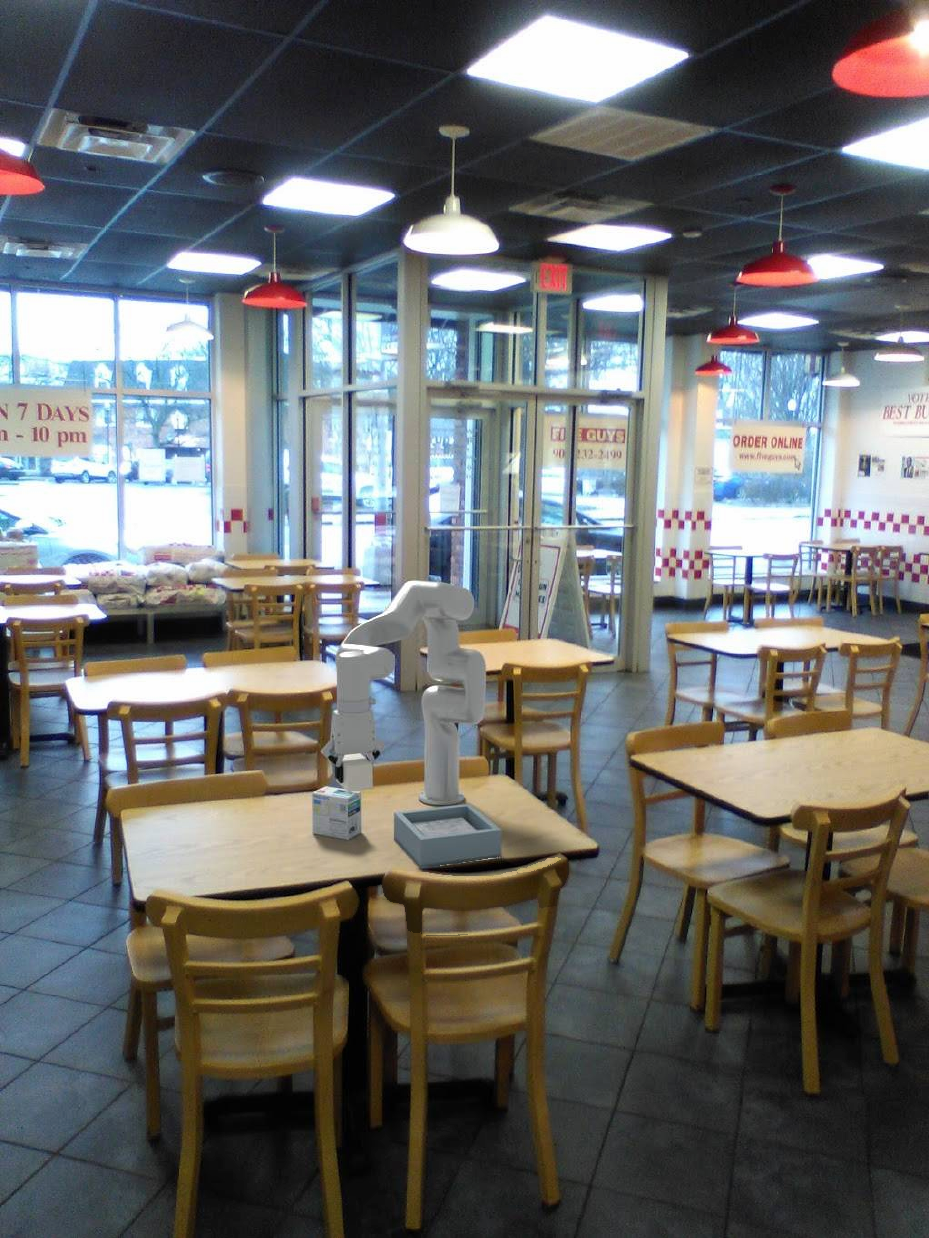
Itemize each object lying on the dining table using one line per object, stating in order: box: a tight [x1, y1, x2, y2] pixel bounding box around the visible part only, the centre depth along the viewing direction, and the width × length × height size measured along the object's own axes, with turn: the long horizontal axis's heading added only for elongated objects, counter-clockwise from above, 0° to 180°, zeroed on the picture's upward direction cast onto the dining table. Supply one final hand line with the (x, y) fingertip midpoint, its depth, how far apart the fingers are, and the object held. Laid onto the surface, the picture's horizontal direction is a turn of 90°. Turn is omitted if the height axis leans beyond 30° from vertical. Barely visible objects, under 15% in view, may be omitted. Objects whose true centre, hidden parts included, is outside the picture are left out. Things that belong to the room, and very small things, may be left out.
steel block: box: [412, 817, 477, 837], centre depth 257 cm, size 13×13×4 cm
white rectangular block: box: [335, 753, 374, 792], centre depth 251 cm, size 9×6×6 cm, turn 24°
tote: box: [393, 803, 502, 870], centre depth 257 cm, size 20×20×7 cm
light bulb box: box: [311, 785, 362, 841], centre depth 267 cm, size 11×7×11 cm, turn 65°
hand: (354, 779), depth 251 cm, fingers closed on white rectangular block, 6 cm apart
